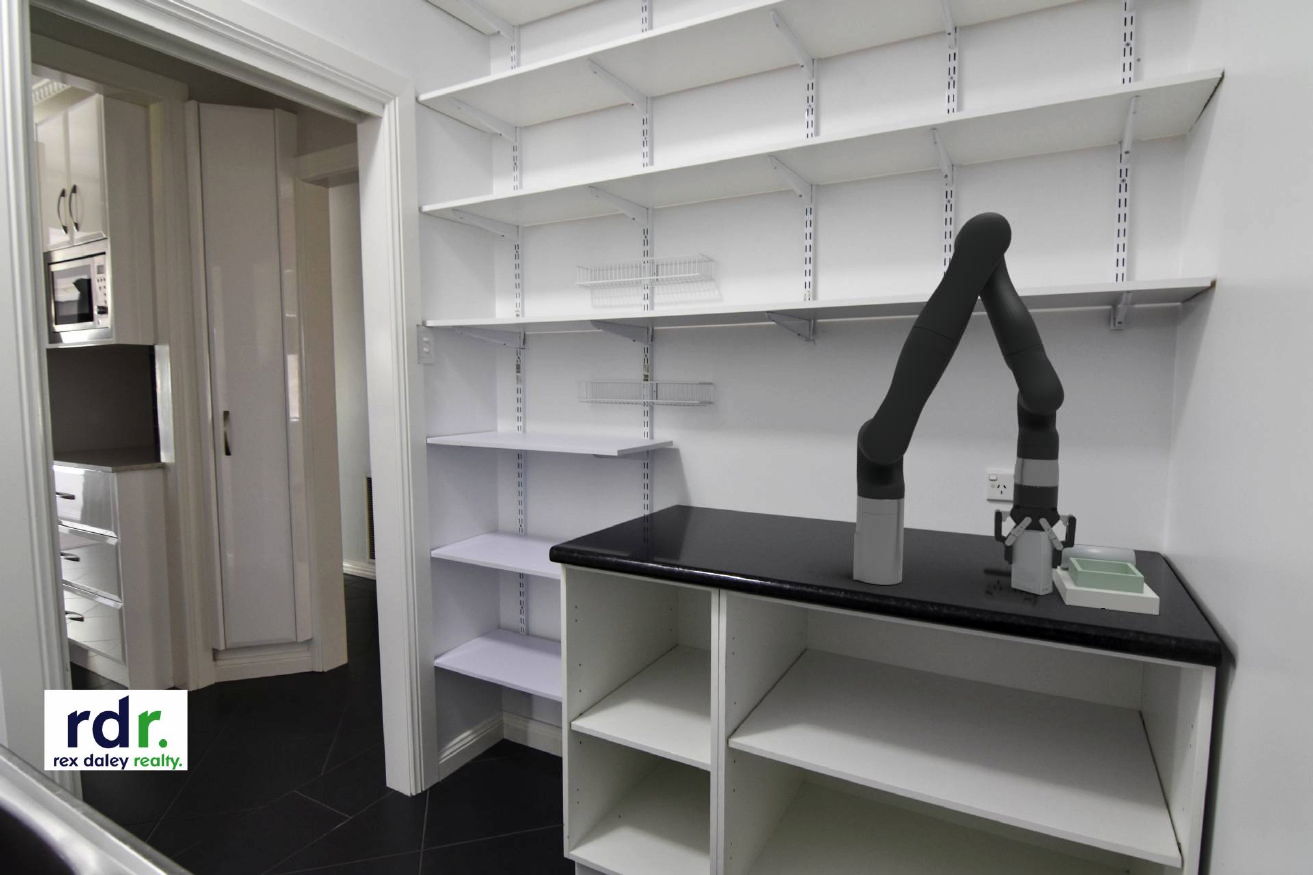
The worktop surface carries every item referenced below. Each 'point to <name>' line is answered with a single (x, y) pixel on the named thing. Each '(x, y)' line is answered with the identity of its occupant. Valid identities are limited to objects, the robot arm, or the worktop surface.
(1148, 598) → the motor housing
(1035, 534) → the skincare box
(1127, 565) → the green piece
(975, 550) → the worktop surface
